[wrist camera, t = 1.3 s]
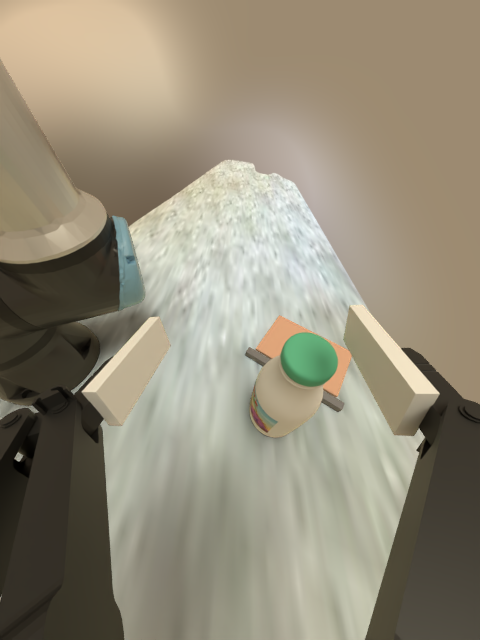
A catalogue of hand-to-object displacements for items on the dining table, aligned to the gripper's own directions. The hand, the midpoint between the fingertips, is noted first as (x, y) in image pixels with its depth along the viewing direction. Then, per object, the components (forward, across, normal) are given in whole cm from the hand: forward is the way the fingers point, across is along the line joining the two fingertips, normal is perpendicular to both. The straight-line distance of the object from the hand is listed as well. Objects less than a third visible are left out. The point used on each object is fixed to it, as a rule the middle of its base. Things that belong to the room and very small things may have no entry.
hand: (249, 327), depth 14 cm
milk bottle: (+8, +1, -22) cm, 24 cm away
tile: (+19, +8, -19) cm, 28 cm away
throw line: (+14, +4, -21) cm, 25 cm away
